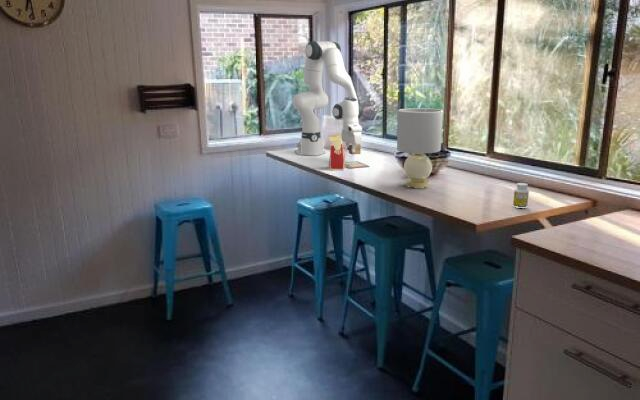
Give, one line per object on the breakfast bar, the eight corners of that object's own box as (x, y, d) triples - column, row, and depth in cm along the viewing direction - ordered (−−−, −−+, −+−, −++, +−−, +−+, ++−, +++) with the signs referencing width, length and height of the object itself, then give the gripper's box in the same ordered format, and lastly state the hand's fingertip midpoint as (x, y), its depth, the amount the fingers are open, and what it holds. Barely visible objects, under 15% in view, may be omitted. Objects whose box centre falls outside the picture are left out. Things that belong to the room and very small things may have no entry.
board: (338, 163, 293) (338, 162, 293) (357, 162, 297) (357, 160, 297) (349, 168, 279) (349, 167, 279) (369, 167, 283) (369, 165, 283)
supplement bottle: (524, 210, 198) (526, 186, 196) (510, 207, 202) (512, 184, 199) (529, 207, 202) (531, 183, 200) (515, 204, 206) (517, 181, 203)
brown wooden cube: (348, 153, 292) (348, 144, 291) (356, 152, 294) (356, 144, 293) (352, 154, 288) (352, 145, 286) (360, 153, 289) (360, 145, 288)
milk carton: (345, 167, 283) (345, 131, 278) (344, 170, 274) (344, 133, 269) (329, 167, 284) (328, 131, 279) (327, 170, 275) (327, 133, 270)
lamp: (393, 180, 249) (395, 108, 240) (434, 180, 248) (438, 108, 239) (398, 190, 230) (400, 112, 221) (442, 190, 229) (447, 112, 220)
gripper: (338, 125, 294) (338, 148, 298) (353, 129, 276) (353, 154, 279) (348, 124, 297) (348, 148, 300) (363, 128, 278) (363, 153, 282)
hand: (350, 151), depth 290 cm, fingers closed on brown wooden cube, 5 cm apart
